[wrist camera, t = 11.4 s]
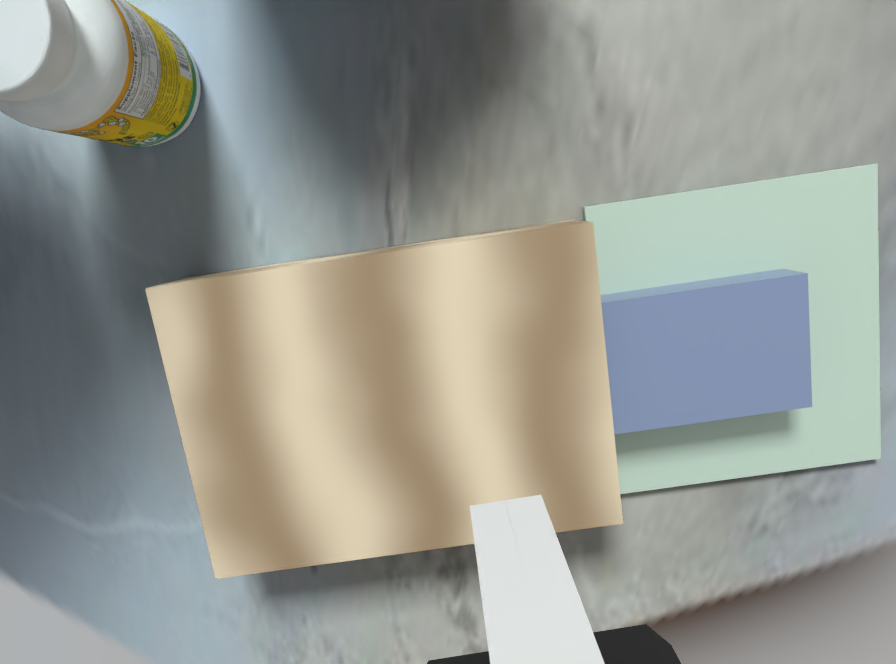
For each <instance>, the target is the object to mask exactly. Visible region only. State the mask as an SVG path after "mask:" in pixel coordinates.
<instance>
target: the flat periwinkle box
mask: <svg viewBox="0 0 896 664" xmlns="http://www.w3.org/2000/svg"><path fill="white" fill-rule="evenodd" d="M600 296H601V306H602V316H603V326H604V336H605V346H606V356H607V366H608V376H609V386H610V396H611V406H612V416H613V426H614V434H621V433H628V432H636V431H643V430H650V429H657V428H664V427H672V426H679V425H686V424H693V423H700V422H708V421H715V420H722V419H729V418H736V417H744V416H751V415H758V414H765V413H772V412H780V411H787V410H794V409H801V408H808V407H812V382H811V352H810V322H809V292H808V273H804V272H799V271H793V270H788V269H777V270H770V271H763V272H756V273H750V274H743V275H736V276H729V277H722V278H715V279H708V280H701V281H694V282H687V283H680V284H673V285H667V286H660V287H653V288H646V289H639V290H632V291H625V292H618V293H611V294H604V295H600Z"/></svg>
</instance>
